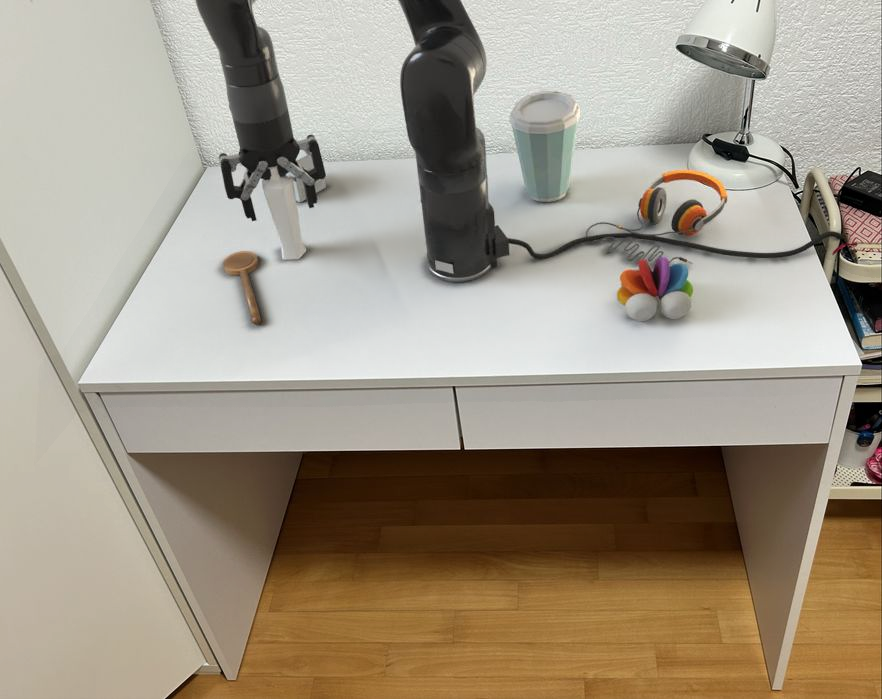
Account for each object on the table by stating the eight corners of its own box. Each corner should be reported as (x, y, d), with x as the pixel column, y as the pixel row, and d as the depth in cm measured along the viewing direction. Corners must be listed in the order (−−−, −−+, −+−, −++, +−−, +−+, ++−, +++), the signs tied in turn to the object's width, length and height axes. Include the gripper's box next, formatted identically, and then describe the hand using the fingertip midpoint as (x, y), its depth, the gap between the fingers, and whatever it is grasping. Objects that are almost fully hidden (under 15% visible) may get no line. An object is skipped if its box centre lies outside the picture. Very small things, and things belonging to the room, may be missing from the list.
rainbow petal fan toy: (612, 288, 118) (614, 243, 113) (685, 284, 117) (690, 238, 112) (620, 327, 111) (623, 281, 107) (697, 323, 111) (703, 277, 106)
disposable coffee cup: (561, 215, 133) (561, 124, 123) (499, 201, 138) (495, 112, 128) (590, 183, 139) (592, 94, 130) (530, 170, 144) (528, 84, 135)
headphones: (574, 226, 125) (655, 145, 132) (579, 252, 129) (657, 172, 136) (674, 269, 116) (756, 179, 122) (675, 295, 119) (755, 207, 126)
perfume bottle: (311, 243, 133) (291, 155, 123) (305, 260, 130) (284, 170, 120) (282, 244, 134) (260, 156, 124) (275, 260, 130) (252, 172, 121)
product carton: (276, 193, 146) (267, 153, 141) (303, 177, 149) (294, 138, 144) (301, 203, 143) (292, 163, 138) (327, 187, 146) (319, 147, 141)
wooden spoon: (222, 260, 132) (220, 254, 131) (255, 252, 132) (254, 245, 132) (239, 331, 118) (237, 324, 117) (276, 321, 119) (275, 314, 118)
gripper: (209, 131, 113) (237, 236, 123) (316, 108, 115) (335, 213, 126) (203, 108, 118) (230, 210, 129) (305, 87, 121) (324, 189, 131)
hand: (282, 211), depth 127 cm, fingers open, 8 cm apart
